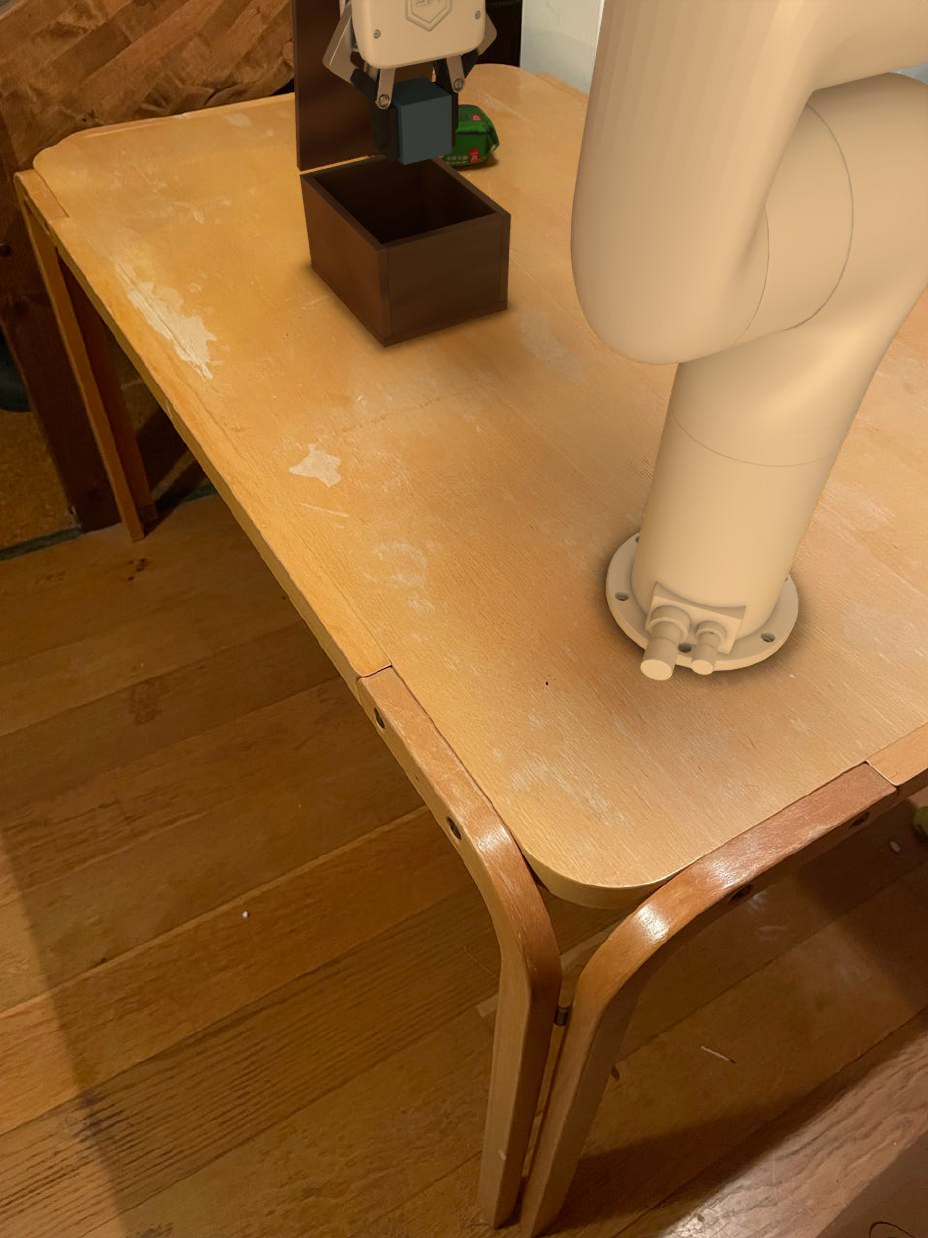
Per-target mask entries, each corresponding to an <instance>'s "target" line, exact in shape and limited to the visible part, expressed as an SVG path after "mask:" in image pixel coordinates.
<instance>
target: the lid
mask: <svg viewBox="0 0 928 1238" xmlns="http://www.w3.org/2000/svg"><path fill="white" fill-rule="evenodd" d="M339 20H340V1H339V0H291V22H292V27H291V28H292V56H293V57H292V58H293V86H294V89H293V91H294V121H295V148H296V149H295V151H296V167H297V169H298V171H299V172H300V173H302V172H306V171H310V170H315V169H318V168H322V167H327V166H330V165H335V164H339V163H343V162H348V161H352V160H356V159H360V158H365V157H368V156H369V155H373V154H377V153H381V152H380V151H378V150H377V148H376V147H375V146H374V144H373V142H372V139H371V128H370V114H369V99H368V98H366V97H365V96H364V95H363V94H362V93H361V92H360V91H359V90H358V89H357V88H355V87H354V86H353V85H352V84H351V83H349V82H347V81H345V80H344V79H342V78H341V77H339V76H337V75H336V74H334V73H333V72H331V71H330V70H329V69H328V68H326V67H325V66H324V64H323V57H324V55H325V53H326V50H327V48H328V46H329V43H330V41H331V39H332V36H333V34H334V32H335V30H336V27H337V25H338V23H339ZM350 60H351V62H352V63H353V64H355V65H356V66H358V67H359V68H360V69H362V70H364V61H365V60H364V59H362V57H361V55H360V52H355V51H352V53H351V56H350ZM433 74H434V67H433V62H432V61H428V62H423V63H418V64H413V65H408V66H403V67H398V68H395V76H394V83H396V82H401V81H406V80H410V79H415V78H420V77H424V76H425V77H426V78H428V79H429V80H431V81H432V82H433V76H434V75H433ZM373 156H374V155H373ZM369 157H370V156H369Z"/></svg>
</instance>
